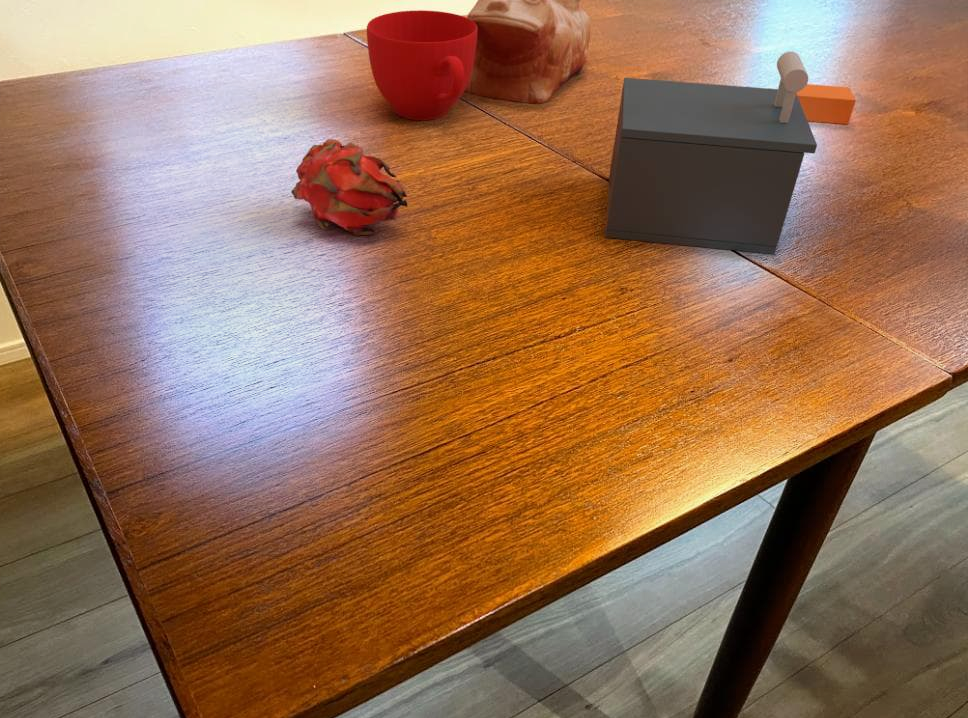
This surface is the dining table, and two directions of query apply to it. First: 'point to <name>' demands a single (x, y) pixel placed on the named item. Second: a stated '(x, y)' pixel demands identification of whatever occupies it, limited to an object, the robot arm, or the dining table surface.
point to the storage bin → (699, 193)
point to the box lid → (721, 112)
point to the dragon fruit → (347, 187)
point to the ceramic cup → (421, 60)
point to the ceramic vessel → (527, 47)
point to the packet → (827, 103)
